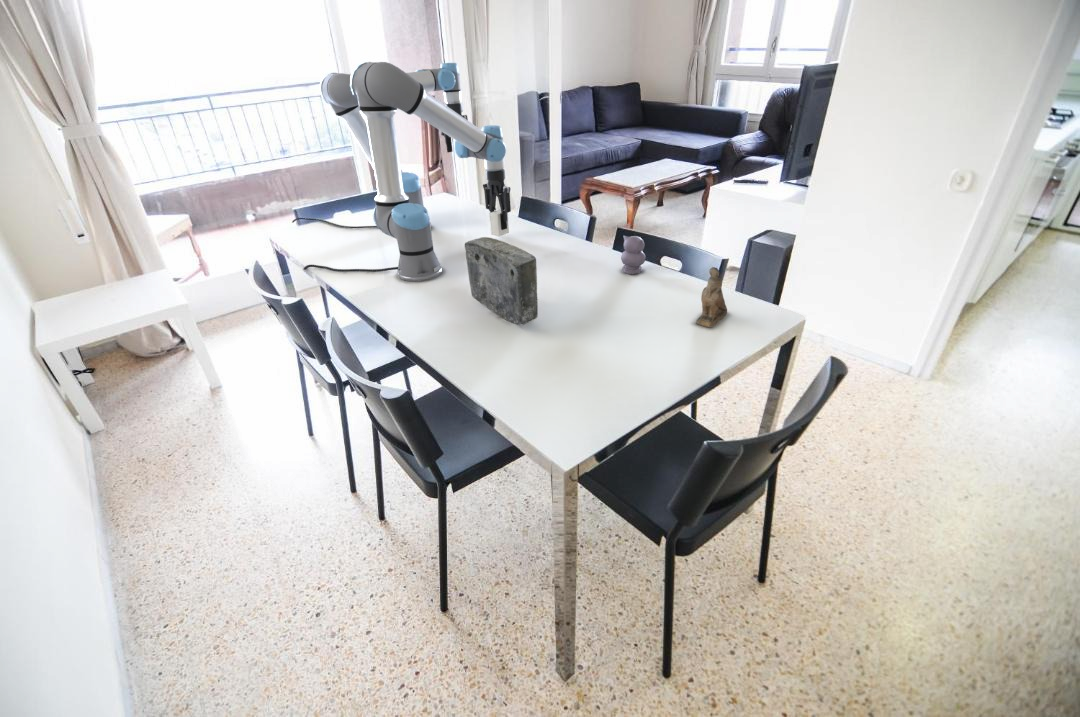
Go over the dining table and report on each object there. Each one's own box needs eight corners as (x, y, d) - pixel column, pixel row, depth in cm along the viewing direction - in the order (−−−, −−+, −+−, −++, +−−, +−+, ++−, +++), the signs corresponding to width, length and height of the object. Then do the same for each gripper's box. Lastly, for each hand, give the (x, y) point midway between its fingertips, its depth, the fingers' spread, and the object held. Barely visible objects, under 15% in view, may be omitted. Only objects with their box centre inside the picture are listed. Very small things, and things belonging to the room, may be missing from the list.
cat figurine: (649, 270, 171) (652, 236, 165) (636, 276, 167) (638, 242, 160) (628, 264, 176) (630, 231, 170) (615, 271, 172) (617, 237, 165)
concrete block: (545, 326, 139) (543, 257, 128) (519, 336, 134) (514, 266, 124) (495, 295, 157) (489, 234, 147) (470, 303, 153) (463, 240, 143)
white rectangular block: (509, 232, 208) (507, 211, 203) (499, 236, 204) (497, 214, 200) (501, 231, 211) (499, 209, 206) (491, 234, 207) (489, 212, 202)
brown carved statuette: (709, 335, 136) (713, 280, 124) (691, 329, 139) (693, 274, 128) (730, 313, 142) (736, 258, 130) (712, 307, 145) (716, 253, 133)
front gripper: (518, 169, 191) (521, 229, 204) (486, 165, 202) (491, 222, 214) (504, 173, 187) (508, 234, 199) (472, 168, 197) (478, 226, 209)
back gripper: (478, 102, 218) (483, 154, 229) (442, 101, 232) (448, 149, 243) (465, 104, 213) (471, 156, 224) (429, 102, 227) (436, 152, 238)
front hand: (499, 227), depth 206 cm, fingers closed on white rectangular block, 5 cm apart
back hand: (459, 153), depth 234 cm, fingers open, 13 cm apart
